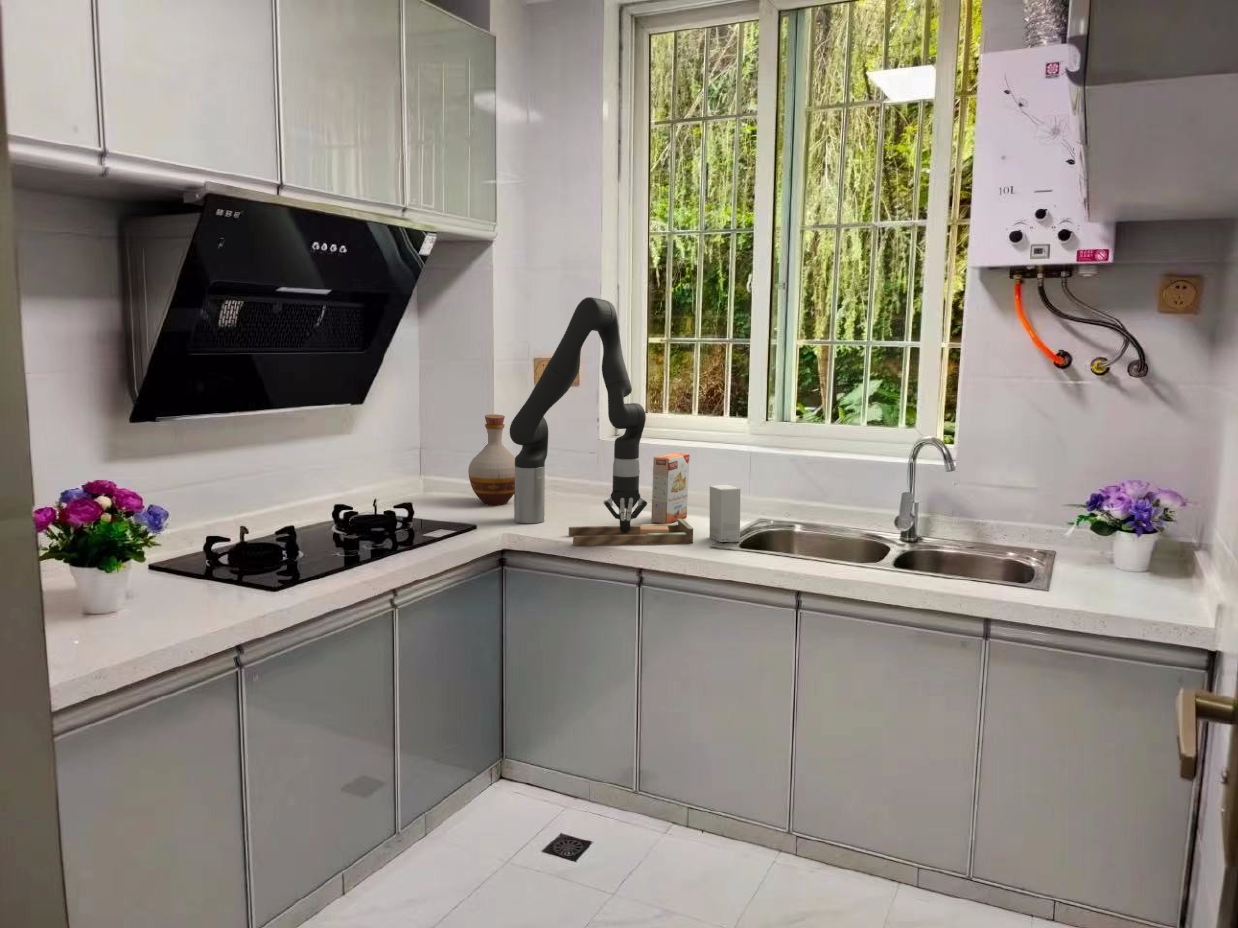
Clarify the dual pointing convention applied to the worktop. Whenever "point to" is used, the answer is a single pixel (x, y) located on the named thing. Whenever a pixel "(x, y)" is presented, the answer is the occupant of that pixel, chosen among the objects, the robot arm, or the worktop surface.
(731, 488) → the skincare box
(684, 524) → the track
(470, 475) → the jug
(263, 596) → the worktop surface
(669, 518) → the cracker box
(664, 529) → the terracotta block
